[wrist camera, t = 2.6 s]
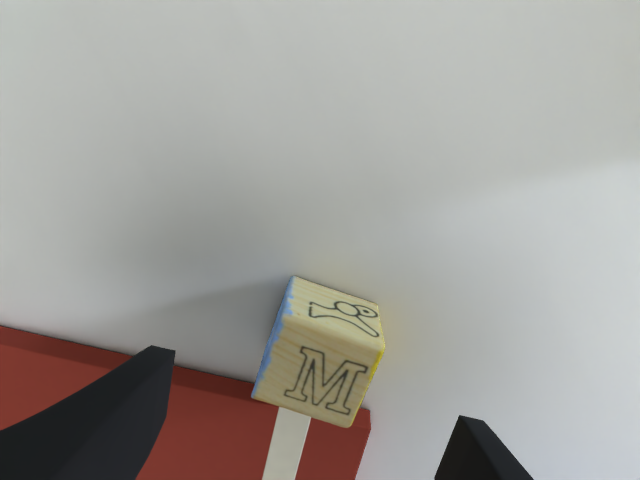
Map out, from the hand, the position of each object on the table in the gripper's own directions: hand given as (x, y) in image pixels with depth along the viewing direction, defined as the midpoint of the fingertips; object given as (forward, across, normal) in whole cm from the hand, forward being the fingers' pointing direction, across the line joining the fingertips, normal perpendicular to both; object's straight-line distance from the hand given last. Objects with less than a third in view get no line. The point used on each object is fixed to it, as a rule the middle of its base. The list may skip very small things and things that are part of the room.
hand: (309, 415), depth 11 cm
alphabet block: (+5, 0, 0) cm, 5 cm away
